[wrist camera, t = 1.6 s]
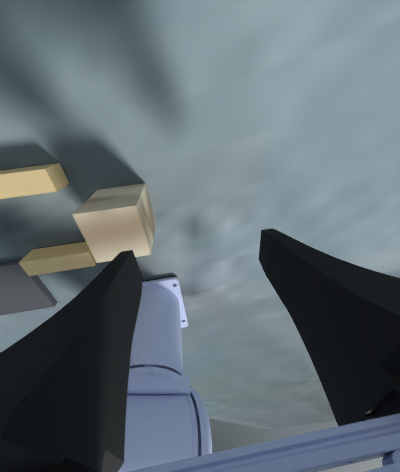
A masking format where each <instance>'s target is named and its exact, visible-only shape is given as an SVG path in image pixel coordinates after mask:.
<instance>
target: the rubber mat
mask: <svg viewBox="0 0 400 472" xmlns="http://www.w3.org/2000/svg"><path fill="white" fill-rule="evenodd" d="M20 261H21V260H19V261H12V262H6V263H0V315H5V314H11V313H18V312H24V311H30V310H36V309H42V308H48V307H54V306H55V305H56V303H57V301H56V300H55V299H54V297H53V296H52V295H51V293H50V292H49V291H48V290H47V288H46V287H45V286H44V284H43V283H42V282H41V280H40V279H39V278H38V276H37V275H34V276H28V274H27V273H26V272H25V271H24V269H23V268H22V267H21V266H20V264H19V262H20Z"/></svg>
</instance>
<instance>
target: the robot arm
mask: <svg viewBox="0 0 400 472" xmlns="http://www.w3.org/2000/svg"><path fill="white" fill-rule="evenodd" d="M259 261H260V263H261V265H262V268H263V270H264V272H265V274H266V276H267V278H268V279H269V281H270V283H271V284H272V286H273V288H274V289H275V291H276V292H277V294H278V296H279V297H280V299H281V300H282V302H283V304H284V305H285V307H286V308H287V310H288V312H289V314H290V315H291V317H292V319H293V321H294V323H295V325H296V327H297V330H298V332H299V334H300V336H301V338H302V340H303V342H304V344H305V347H306V349H307V351H308V353H309V355H310V358H311V360H312V362H313V365H314V367H315V369H316V371H317V374H318V376H319V378H320V381H321V383H322V386H323V388H324V391H325V393H326V396H327V398H328V401H329V403H330V406H331V408H332V411H333V414H334V416H335V419H336V422H337V423H338V425H339V426H338V427H333V428H328V429H324V430H319V431H314V432H310V433H305V434H301V435H296V436H291V437H286V438H282V439H277V440H272V441H268V442H263V443H258V444H254V445H249V446H245V447H240V448H235V449H230V450H226V451H221V452H217V453H212V439H211V429H210V422H209V417H208V413H207V410H206V407H205V405H204V403H203V401H202V399H201V397H200V395H199V394H198V392H197V391H195V390H191V389H190V377H188V376H183V361H182V338H181V328H184V327H187V326H188V321H187V316H186V312H185V307H184V303H183V298H182V294H181V289H180V285H179V280H178V278H177V277H171V278H164V279H158V280H152V281H146V282H142V281H143V278H142V275H141V272H140V269H139V266H138V264H137V261H136V258H135V255H134V253H133V250H128V251H122V252H120V253H119V254H118V255H117V256H116V257H115V258H114V259H113V260H112V261H111V262H110V263H109V264H108V265H107V266H106V267H105V269H104V270H103V271H102V272H101V273H100V274H99V275H98V276H97V277H96V278H95V279H94V280H93V281H92V282H91V283H90V284H89V285H88V286H87V287H86V288H84V289H83V290H82V291H81V292H80V293H79V294H78V295H77V296H76V297H75V298H74V299H73V300H71V301H70V302H69V303H68V304H67V305H66V306H64V307H63V308H62V309H61V310H59V311H58V312H57V313H56V314H55V315H53V316H52V317H51V318H49V319H48V320H47V321H45V322H44V323H43V324H41V325H40V326H39V327H37V328H36V329H34V330H33V331H32V332H30V333H29V334H28V335H26V336H25V337H23V338H22V339H21V340H19V341H18V342H16V343H15V344H13V345H12V346H10V347H9V348H7V349H6V350H4V351H3V352H1V353H0V472H317V471H321V470H326V469H330V468H335V467H339V466H344V465H348V464H353V463H357V462H361V461H366V460H370V459H375V458H379V457H383V460H382V464H383V467H380V468H376V469H373V470H369V471H366V472H400V278H397V277H393V276H390V275H386V274H383V273H379V272H376V271H372V270H369V269H366V268H363V267H360V266H357V265H354V264H351V263H348V262H346V261H343V260H340V259H337V258H335V257H332V256H330V255H328V254H325V253H323V252H321V251H318V250H316V249H314V248H312V247H310V246H308V245H305V244H303V243H301V242H299V241H297V240H295V239H293V238H291V237H289V236H287V235H285V234H283V233H281V232H279V231H277V230H275V229H266V230H261V241H260V253H259Z"/></svg>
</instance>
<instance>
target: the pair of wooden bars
mask: <svg viewBox="0 0 400 472" xmlns="http://www.w3.org/2000/svg"><path fill="white" fill-rule="evenodd" d="M68 184H69V182H68V180H67V178H66V176H65V173H64V171H63V169H62V167H61V165H60V163H56V164H48V165H40V166H32V167H24V168H16V169H8V170H0V199H4V198H11V197H19V196H26V195H34V194H41V193H49V192H56V191H58V190H60V189H61V188H63V187H64V186H66V185H68ZM19 264H20V266H21V267H22V268H23V269H24V271H25V272H26V273H27V274H28V276H34V275H40V274H47V273H53V272H59V271H66V270H72V269H79V268H85V267H92V266H96V264H97V262H96V260H95V258H94V256H93V254H92V252H91V250H90V248H89V246H88V244H87V242H80V243H73V244H66V245H59V246H53V247H46V248H39V249H32V250H31V251H30V252H29V253H28V254H27V255H26V256H25V257H24V258H23V259H22V260H21V261H20V262H19Z"/></svg>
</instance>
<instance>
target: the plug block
mask: <svg viewBox="0 0 400 472" xmlns="http://www.w3.org/2000/svg"><path fill="white" fill-rule="evenodd" d="M72 215H73V217H74V219H75V221H76V223H77V225H78V227H79V229H80V231H81V233H82V235H83V237H84V239H85V241H86V242H87V244H88V246H89V248H90V250H91V252H92V254H93V256H94V258H95V260H96V262H97V263H100V262H106V261H112V260H113V259H114V258H115V257H116V256H117V255H118V254H119V253H120V252H122V251H128V250H133V253H134V255H135V257H139V256H145V255H151V251H152V245H153V238H154V232H155V225H156V223H155V219H154V215H153V211H152V207H151V203H150V199H149V195H148V192H147V188H146V184H145V183H142V184H135V185H127V186H120V187H112V188H105V189H98V190H97V191H96V192H95V193H94V194H93V195H92V196H91V197H90V198H89V199H88V200H87V201H86V202H85V203H84V204H82V205H81V206H80V207H79V208H78V209H77V210H76V211H75V212H74V213H73V214H72Z"/></svg>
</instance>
